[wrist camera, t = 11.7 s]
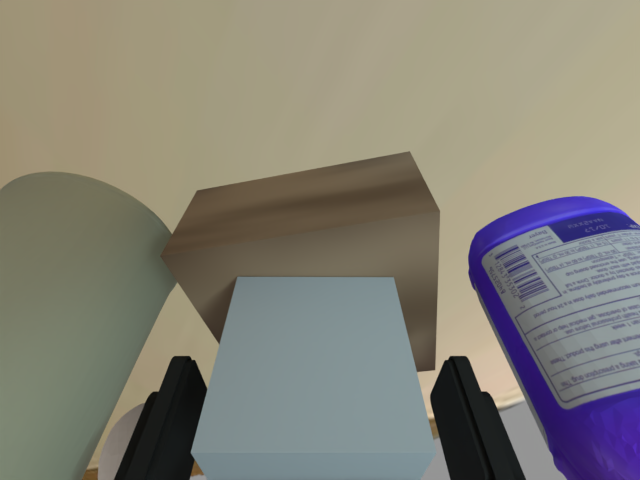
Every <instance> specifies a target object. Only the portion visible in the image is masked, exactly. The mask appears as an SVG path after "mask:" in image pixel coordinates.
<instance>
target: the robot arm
mask: <svg viewBox="0 0 640 480" xmlns="http://www.w3.org/2000/svg"><path fill="white" fill-rule="evenodd" d="M207 390H208V389H207V387H206V384H205V382H204V380H203V377H202V375H201V372H200V370H199V368H198V365H197V363H196V361H195V360H192V359H191V357H190V356H174V357H173V358H172V359H171V361H170V363H169V366H168V368H167V371H166V374H165V376H164V379H163V381H162V384H161V387H160V389H159V391H153V392H152V393H151V394H150V395H149V396H148V398H147V400H146V402H145V404H144V407H143V409H142V412H141V414H140V417H139V419H138V422H137V424H136V426H135V429H134V431H133V434H132V436H131V439H130V441H129V444H128V446H127V449H126V451H125V453H124V456H123V458H122V461H121V463H120V466H119V468H118V471H117V473H116V476H115V478H114V480H190V476H191V473H192V469H193V465H194V461H195V459H194V457H193V456H192V454H191V450H192V446H193V442H194V438H195V435H196V431H197V427H198V423H199V420H200V416H201V412H202V408H203V405H204V401H205V397H206V393H207ZM430 402H431V407H432V410H433V414H434V418H435V422H436V426H437V430H438V434H439V438H440V441H441V445H442V449H443V453H444V457H445V461H446V465H447V469H448V473H449V476H450V480H526V478H525V476H524V473H523V471H522V468H521V466H520V463H519V461H518V458H517V456H516V453H515V451H514V449H513V446H512V444H511V441H510V439H509V436H508V434H507V431H506V429H505V426H504V424H503V422H502V419H501V417H500V414H499V412H498V409H497V407H496V404H495V402H494V400H493V398H492V396H491V395H490V394H489V393H488V392H487V391H481V389H480V387H479V384H478V381H477V379H476V376H475V374H474V371H473V368H472V366H471V363H470V361H469V359H468V358H467V357H466V356H450V357H449V359H448V360H445V361H444V363H443V365H442V368H441V370H440V372H439V375H438V377H437V380H436V382H435V384H434V387H433V389H432V391H431V394H430Z"/></svg>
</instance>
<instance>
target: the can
mask: <svg viewBox="0 0 640 480" xmlns="http://www.w3.org/2000/svg"><path fill="white" fill-rule="evenodd" d="M171 236H172V233H171V232H170V230H169V229H168V228H167V226H166V225H165V224H164V223H163V222H162V220H161V219H160V218H159V217H158V216H157V215H156V214H155V213H154V212H153V211H151V210H150V209H149V208H148V207H147V206H145V205H144V204H143V203H141V202H140V201H139V200H137V199H136V198H134V197H133V196H131V195H129V194H128V193H126V192H124V191H122V190H120V189H118V188H116V187H114V186H112V185H110V184H108V183H105V182H103V181H100V180H97V179H94V178H91V177H87V176H83V175H79V174H73V173H66V172H51V171H48V172H37V173H31V174H27V175H24V176H21V177H19V178H16V179H14V180H12V181H11V182H9V183H8V184H6V185H5V186H4V187H3V188H2V189H1V190H0V480H82V478H83V476H84V473H85V471H86V469H87V467H88V465H89V463H90V460H91V458H92V456H93V454H94V452H95V449H96V447H97V445H98V443H99V441H100V439H101V436H102V434H103V432H104V430H105V428H106V425H107V423H108V421H109V419H110V417H111V415H112V413H113V410H114V408H115V406H116V404H117V402H118V400H119V398H120V395H121V393H122V391H123V389H124V387H125V385H126V383H127V380H128V378H129V376H130V374H131V372H132V370H133V368H134V365H135V363H136V361H137V359H138V357H139V355H140V353H141V351H142V348H143V346H144V344H145V342H146V340H147V338H148V336H149V334H150V332H151V330H152V328H153V326H154V324H155V321H156V319H157V317H158V315H159V313H160V311H161V309H162V307H163V305H164V303H165V301H166V299H167V297H168V296H169V294H170V292H171V291H172V290H173V289H174V287H175V286H176V284H177V283H178V282H177V281H176V279H175V278H174V276H173V275H172V273H171V272H170V270H169V269H168V267H167V266H166V264H165V263H164V261H163V260H162V258H161V257H160V255H161V253H162V252H163V250H164V248H165V246H166V244H167V243H168V241H169V239H170V237H171Z"/></svg>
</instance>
